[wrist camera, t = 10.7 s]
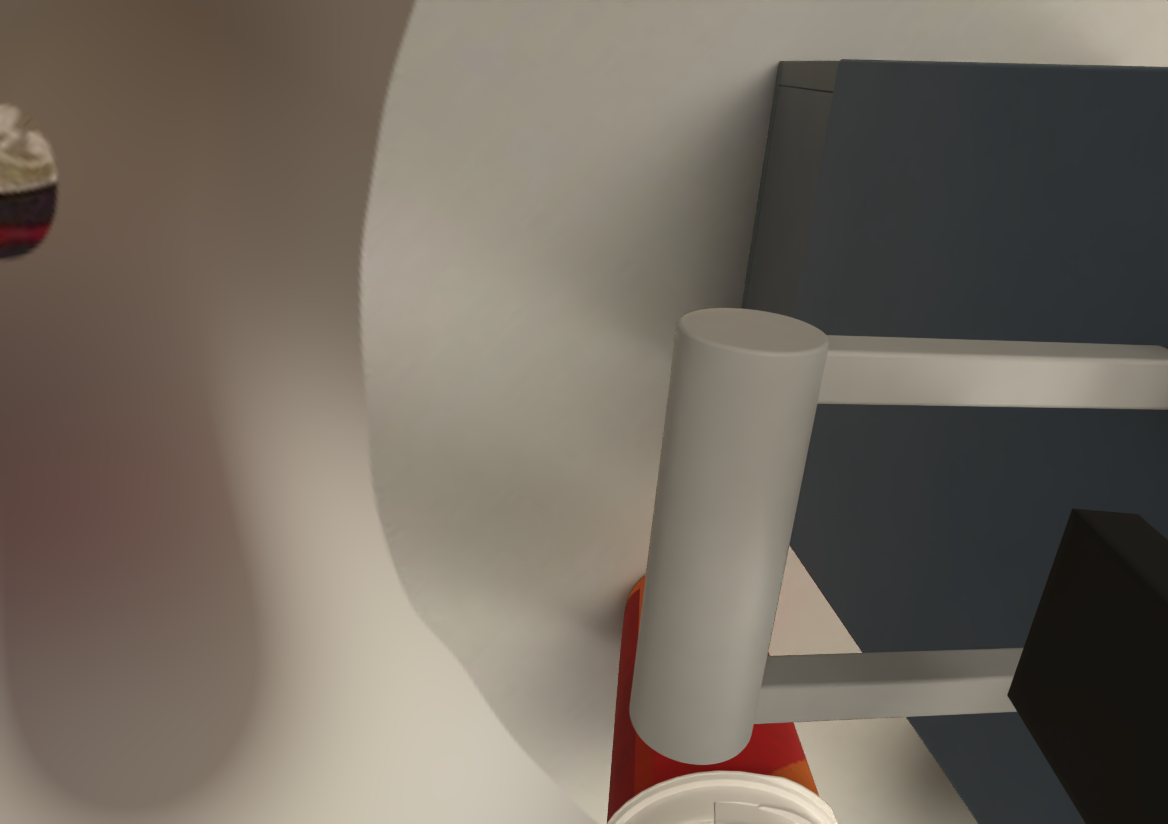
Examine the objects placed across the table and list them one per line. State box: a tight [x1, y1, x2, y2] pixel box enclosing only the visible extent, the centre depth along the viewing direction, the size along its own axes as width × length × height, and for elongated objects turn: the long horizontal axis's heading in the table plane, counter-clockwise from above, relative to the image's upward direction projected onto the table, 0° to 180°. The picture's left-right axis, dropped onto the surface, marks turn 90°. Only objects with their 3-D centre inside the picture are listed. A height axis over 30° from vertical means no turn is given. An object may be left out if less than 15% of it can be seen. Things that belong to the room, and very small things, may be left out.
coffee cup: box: [607, 575, 838, 824], centre depth 33 cm, size 8×8×15 cm
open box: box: [741, 61, 839, 318], centre depth 28 cm, size 14×13×10 cm
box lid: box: [630, 59, 1168, 824], centre depth 16 cm, size 14×13×8 cm
